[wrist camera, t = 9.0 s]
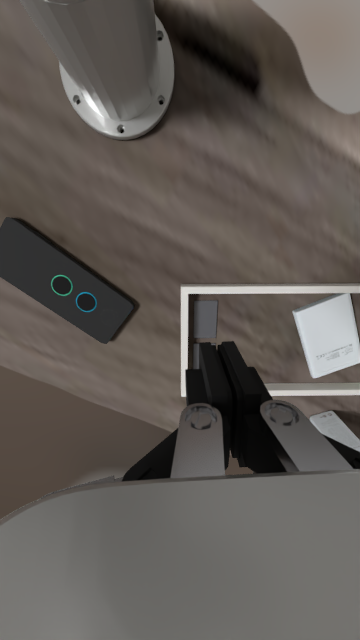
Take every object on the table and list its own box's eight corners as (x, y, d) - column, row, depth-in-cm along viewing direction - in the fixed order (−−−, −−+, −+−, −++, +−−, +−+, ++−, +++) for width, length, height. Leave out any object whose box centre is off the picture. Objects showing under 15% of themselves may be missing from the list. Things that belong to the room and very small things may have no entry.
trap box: (180, 284, 35) (181, 288, 32) (403, 283, 35) (427, 287, 32) (181, 389, 41) (181, 402, 37) (373, 387, 41) (390, 400, 38)
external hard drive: (343, 289, 36) (357, 357, 40) (290, 309, 37) (309, 374, 41) (350, 291, 35) (364, 361, 38) (295, 312, 36) (314, 379, 39)
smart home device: (104, 346, 37) (-20, 265, 33) (107, 342, 38) (-11, 264, 34) (135, 305, 35) (6, 213, 31) (137, 302, 36) (15, 214, 32)
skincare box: (308, 416, 43) (355, 480, 31) (333, 408, 42) (391, 471, 31) (314, 441, 45) (361, 510, 33) (338, 434, 44) (394, 502, 33)
